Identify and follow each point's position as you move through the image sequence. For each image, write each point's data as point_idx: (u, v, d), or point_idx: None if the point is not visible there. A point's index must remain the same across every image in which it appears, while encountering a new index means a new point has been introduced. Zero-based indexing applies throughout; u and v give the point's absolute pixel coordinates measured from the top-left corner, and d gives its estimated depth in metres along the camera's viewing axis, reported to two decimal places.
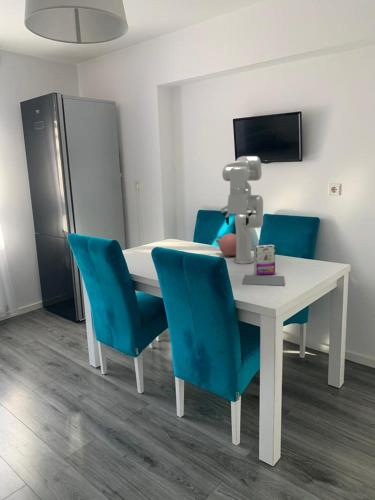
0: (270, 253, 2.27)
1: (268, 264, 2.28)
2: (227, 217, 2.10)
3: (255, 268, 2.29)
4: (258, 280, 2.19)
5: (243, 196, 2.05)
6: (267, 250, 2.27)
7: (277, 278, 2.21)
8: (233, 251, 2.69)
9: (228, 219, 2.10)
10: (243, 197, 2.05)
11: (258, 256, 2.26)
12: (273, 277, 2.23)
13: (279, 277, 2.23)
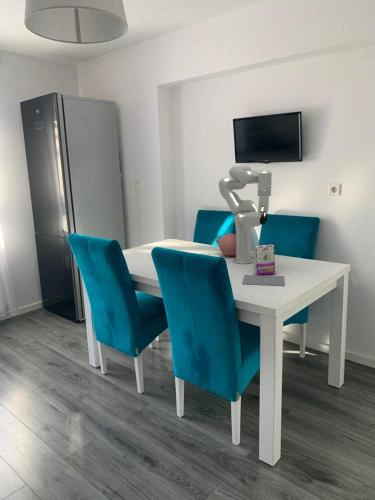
0: (270, 253, 2.27)
1: (268, 264, 2.28)
2: None
3: (255, 268, 2.29)
4: (258, 280, 2.19)
5: None
6: (266, 250, 2.27)
7: (277, 278, 2.21)
8: (233, 251, 2.69)
9: None
10: None
11: (258, 256, 2.26)
12: (273, 277, 2.23)
13: (279, 277, 2.23)
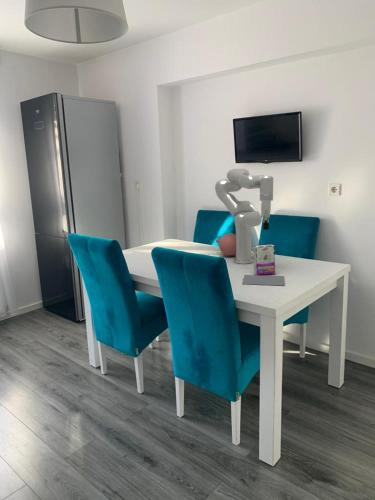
0: (270, 253, 2.27)
1: (268, 264, 2.28)
2: (267, 222, 2.34)
3: (255, 268, 2.29)
4: (258, 280, 2.19)
5: None
6: (266, 250, 2.27)
7: (277, 278, 2.21)
8: (233, 251, 2.69)
9: (268, 224, 2.35)
10: None
11: (258, 256, 2.26)
12: (273, 277, 2.23)
13: (279, 277, 2.23)
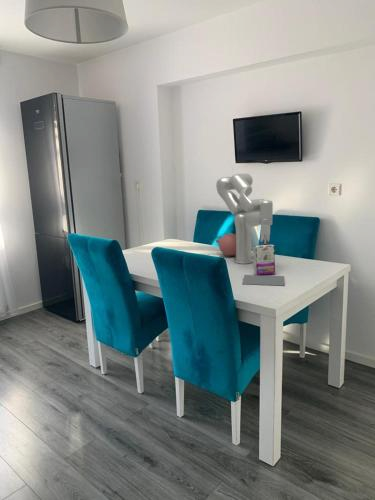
0: (270, 253, 2.27)
1: (268, 264, 2.28)
2: None
3: (255, 268, 2.29)
4: (258, 280, 2.19)
5: None
6: (266, 250, 2.27)
7: (277, 278, 2.21)
8: (233, 251, 2.69)
9: None
10: None
11: (258, 256, 2.26)
12: (273, 277, 2.23)
13: (279, 277, 2.23)
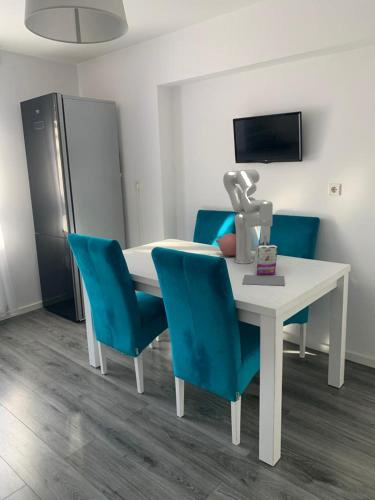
0: (272, 254, 2.26)
1: (269, 265, 2.27)
2: None
3: (255, 267, 2.28)
4: (258, 280, 2.19)
5: None
6: (269, 251, 2.25)
7: (277, 278, 2.21)
8: (233, 251, 2.69)
9: None
10: None
11: (260, 256, 2.25)
12: (273, 277, 2.23)
13: (279, 277, 2.23)
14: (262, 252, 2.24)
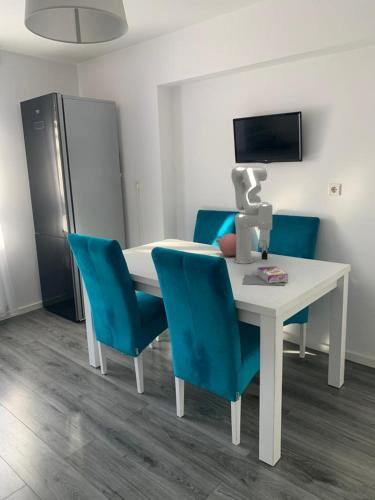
0: None
1: None
2: None
3: (259, 273, 2.23)
4: (258, 280, 2.19)
5: None
6: None
7: None
8: (233, 251, 2.69)
9: None
10: None
11: None
12: None
13: None
14: None
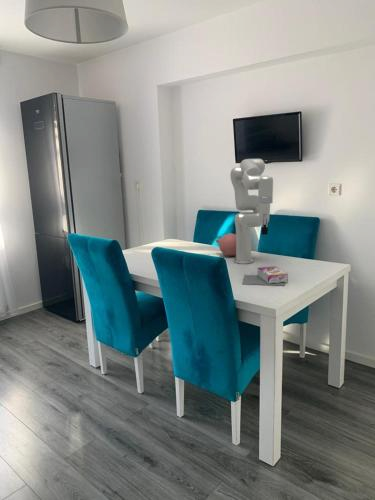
0: None
1: None
2: None
3: (259, 273, 2.23)
4: (258, 280, 2.19)
5: None
6: None
7: None
8: (233, 251, 2.69)
9: (267, 228, 2.17)
10: None
11: None
12: None
13: None
14: None
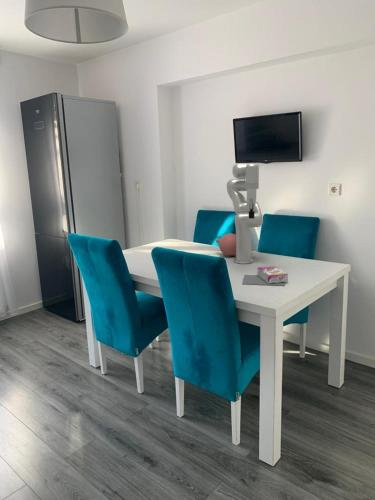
0: None
1: None
2: None
3: (259, 273, 2.23)
4: (258, 280, 2.19)
5: None
6: None
7: None
8: (233, 251, 2.69)
9: (254, 213, 2.32)
10: None
11: None
12: None
13: None
14: None
